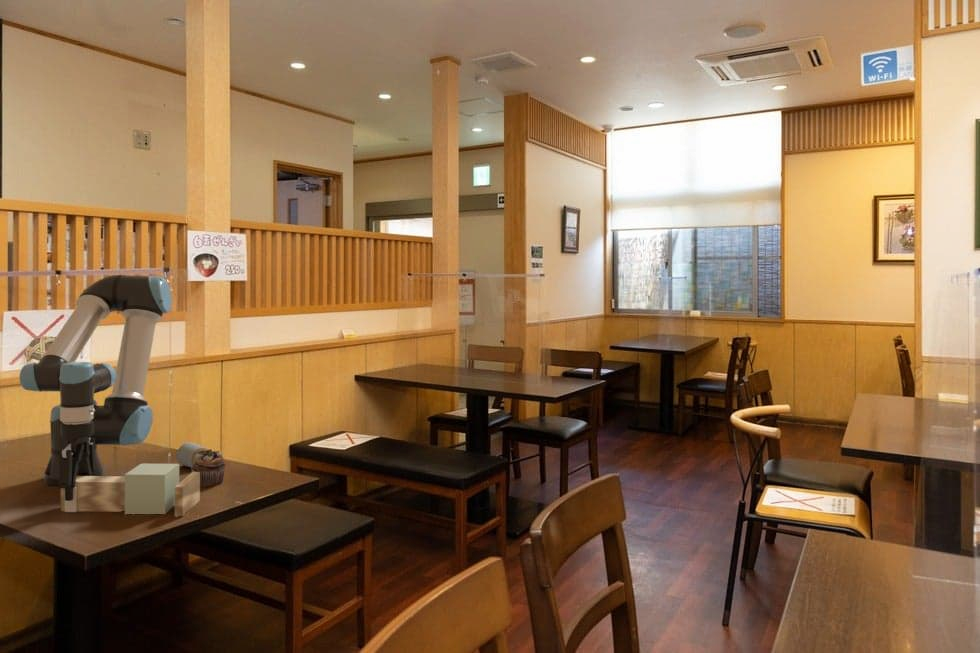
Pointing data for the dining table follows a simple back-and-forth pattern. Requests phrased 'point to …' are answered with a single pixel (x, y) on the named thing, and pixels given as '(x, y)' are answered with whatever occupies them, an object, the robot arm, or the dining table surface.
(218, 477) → the cupcake
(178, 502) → the board
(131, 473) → the socket block
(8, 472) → the dining table surface
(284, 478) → the dining table surface
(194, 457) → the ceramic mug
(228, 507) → the dining table surface
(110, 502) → the light wood rectangular block
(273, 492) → the dining table surface
